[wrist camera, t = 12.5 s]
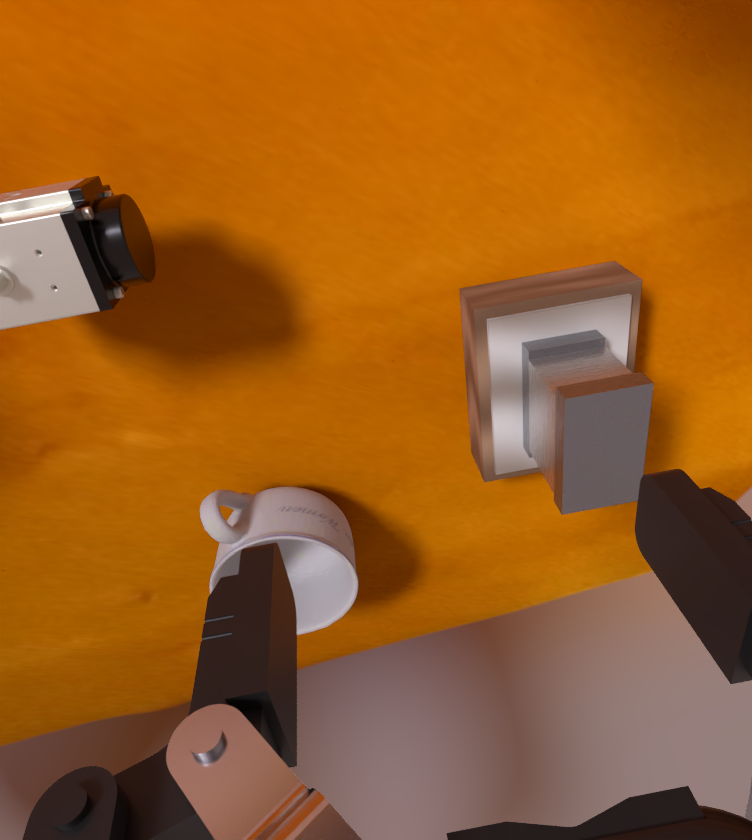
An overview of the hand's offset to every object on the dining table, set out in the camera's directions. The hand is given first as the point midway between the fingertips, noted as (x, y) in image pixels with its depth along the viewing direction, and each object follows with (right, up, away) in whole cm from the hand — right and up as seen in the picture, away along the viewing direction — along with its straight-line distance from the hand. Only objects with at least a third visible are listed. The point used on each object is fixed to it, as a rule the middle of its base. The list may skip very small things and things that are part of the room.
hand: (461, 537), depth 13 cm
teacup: (-10, -5, +37) cm, 39 cm away
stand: (+10, +7, +33) cm, 35 cm away
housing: (+11, +5, +29) cm, 31 cm away
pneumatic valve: (-20, +15, +24) cm, 35 cm away
